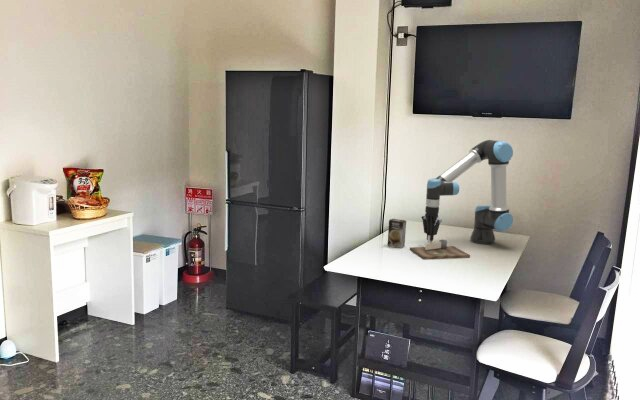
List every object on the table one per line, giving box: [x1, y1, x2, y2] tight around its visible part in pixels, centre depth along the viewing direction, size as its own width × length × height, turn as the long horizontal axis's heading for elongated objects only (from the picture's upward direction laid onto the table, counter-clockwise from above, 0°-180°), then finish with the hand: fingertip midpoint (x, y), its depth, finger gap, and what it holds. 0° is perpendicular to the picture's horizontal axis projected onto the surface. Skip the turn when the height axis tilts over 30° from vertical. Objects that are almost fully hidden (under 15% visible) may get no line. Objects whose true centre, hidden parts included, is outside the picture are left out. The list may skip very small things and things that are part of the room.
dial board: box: [409, 245, 471, 260], centre depth 309 cm, size 28×20×2 cm
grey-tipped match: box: [424, 239, 448, 250], centre depth 313 cm, size 15×4×4 cm, turn 120°
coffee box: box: [387, 218, 407, 249], centre depth 322 cm, size 9×6×16 cm
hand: (429, 245), depth 313 cm, fingers closed
